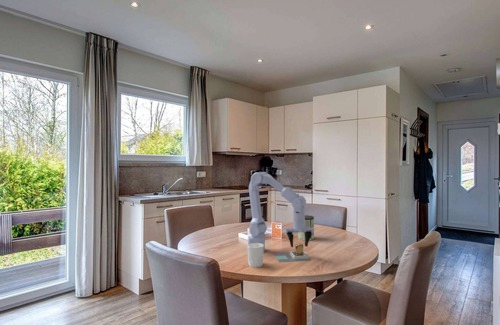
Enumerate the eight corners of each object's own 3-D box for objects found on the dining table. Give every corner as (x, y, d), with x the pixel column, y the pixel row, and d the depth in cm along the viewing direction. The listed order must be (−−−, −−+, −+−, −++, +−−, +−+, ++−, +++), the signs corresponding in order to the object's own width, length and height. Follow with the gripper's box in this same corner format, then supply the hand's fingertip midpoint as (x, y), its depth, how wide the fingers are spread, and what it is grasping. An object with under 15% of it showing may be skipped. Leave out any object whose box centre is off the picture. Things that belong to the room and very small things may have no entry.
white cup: (263, 263, 141) (262, 242, 141) (264, 269, 133) (264, 247, 133) (247, 263, 141) (246, 243, 141) (247, 269, 133) (247, 247, 133)
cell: (296, 258, 146) (296, 245, 146) (294, 255, 150) (294, 242, 150) (304, 257, 146) (304, 244, 146) (301, 255, 150) (301, 242, 150)
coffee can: (297, 236, 192) (297, 215, 193) (313, 236, 191) (312, 215, 192) (298, 240, 182) (298, 218, 182) (315, 240, 181) (314, 218, 181)
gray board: (279, 264, 139) (279, 259, 139) (273, 255, 153) (273, 250, 153) (311, 262, 142) (311, 257, 142) (302, 253, 156) (302, 249, 156)
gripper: (287, 222, 143) (287, 249, 143) (315, 221, 145) (315, 248, 145) (283, 219, 150) (283, 245, 150) (310, 218, 152) (310, 244, 152)
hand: (299, 246), depth 148 cm, fingers open, 7 cm apart
